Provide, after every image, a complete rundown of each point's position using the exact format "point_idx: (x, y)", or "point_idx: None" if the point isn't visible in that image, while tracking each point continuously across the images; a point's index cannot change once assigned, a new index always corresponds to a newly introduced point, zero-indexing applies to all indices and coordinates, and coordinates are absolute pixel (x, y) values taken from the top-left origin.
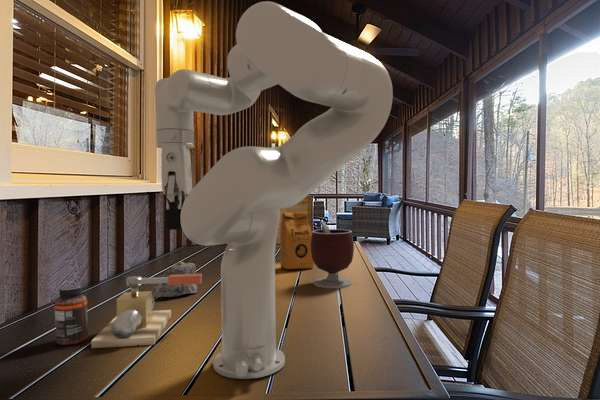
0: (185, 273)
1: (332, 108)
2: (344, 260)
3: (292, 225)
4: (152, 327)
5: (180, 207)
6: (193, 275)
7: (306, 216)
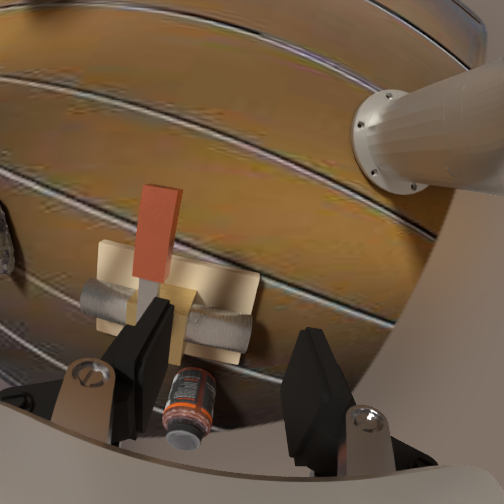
0: None
1: None
2: None
3: None
4: (201, 279)
5: (381, 416)
6: (164, 211)
7: None
